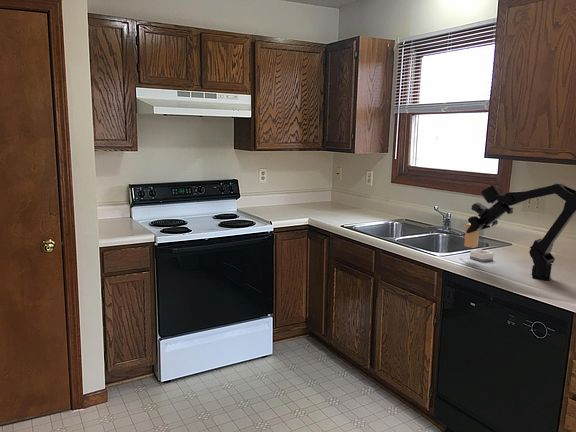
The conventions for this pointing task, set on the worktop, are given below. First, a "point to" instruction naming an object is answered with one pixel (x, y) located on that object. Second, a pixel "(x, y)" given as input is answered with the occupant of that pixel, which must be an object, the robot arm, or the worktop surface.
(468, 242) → the plug
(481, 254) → the socket
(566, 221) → the robot arm
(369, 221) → the worktop surface
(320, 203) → the worktop surface
